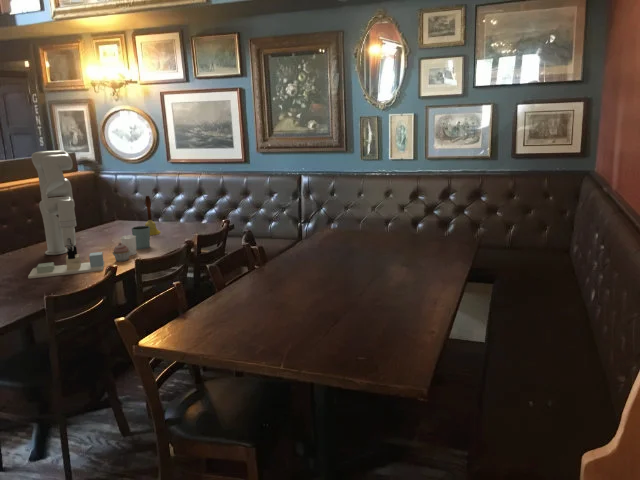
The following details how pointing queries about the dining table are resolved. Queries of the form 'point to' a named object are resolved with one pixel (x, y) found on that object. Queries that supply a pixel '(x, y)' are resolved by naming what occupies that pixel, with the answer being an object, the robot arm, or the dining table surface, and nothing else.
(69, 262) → the beech block
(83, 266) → the build board
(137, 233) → the teal plant pot
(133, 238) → the white cup
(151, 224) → the handbell
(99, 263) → the blue block
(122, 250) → the cupcake
